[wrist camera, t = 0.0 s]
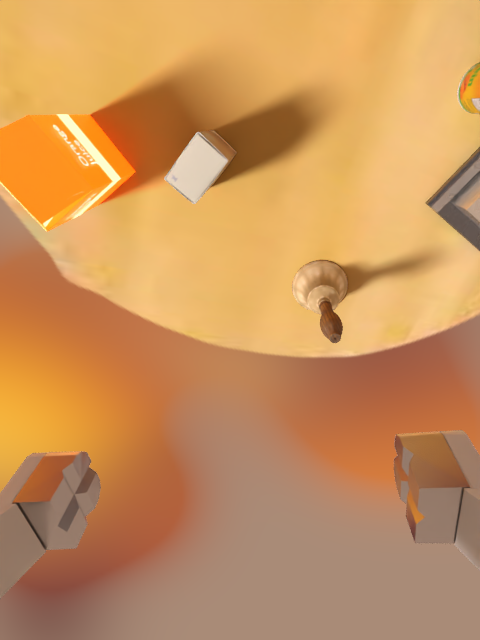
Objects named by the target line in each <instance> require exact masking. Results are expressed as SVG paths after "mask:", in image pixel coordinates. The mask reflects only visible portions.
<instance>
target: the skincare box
mask: <svg viewBox="0 0 480 640" xmlns="http://www.w3.org/2000/svg"><path fill="white" fill-rule="evenodd" d="M236 154H237V152H236V151H235V150H234V149H233V148H232V147H231V146H230V145H229V144H228V143H227V142H226V141H225V140H224V139H223V138H222V137H221V136H219V135H218V134H217V133H216V132H215V131H214V130H211V131H202V132H197V133H196V134H195V135H194V137H193V138H192V139H191V141H190V142H189V144H188V145H187V146H186V148H185V149H184V151H183V152H182V153H181V155H180V156H179V158H178V159H177V161H176V162H175V164H174V165H173V166H172V168H171V169H170V171H169V172H168V174H167V175H166V176H165V178H164V179H165V180H166V181H167V182H168V183H169V184H170V185H171V186H173V187H174V188H175V189H176V190H177V191H178V192H179V193H181V194H182V195H183V196H184V197H185V198H187V199H188V200H189V201H191V202H192V203H193V204H195V203H197V201H198V200H199V199H200V198H201V197H202V196H203V195H204V194H205V192H206V191H207V190H208V189H209V188H210V187H211V186H212V185H213V184H214V182H215V181H216V180H217V179H218V178H219V176H220V175H221V174H222V173H223V171H224V170H225V169H226V167H227V166H228V165H229V163H230V162H231V160H232V159H233V158H234V156H235V155H236Z"/></svg>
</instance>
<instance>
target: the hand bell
mask: <svg viewBox="0 0 480 640" xmlns="http://www.w3.org/2000/svg"><path fill="white" fill-rule="evenodd" d="M347 288H348V281H347V277H346V274H345V272H344V271H343V270H342V269H341V268H340V267H339V266H338V265H337V264H335V263H333V262H330V261H326V260H317V261H313V262H310V263H308V264H306V265H304V266H303V267H302V268H301V269H300V270H299V271H298V272H297V273H296V275H295V277H294V279H293V283H292V291H293V295H294V297H295V299H296V301H297V302H298V303H299V304H300V305H301V306H303V307H304V308H306V309H309V310H312V311H313V312H315V313H318V314H322V316H321V319H320V326H321V330H322V332H323V334H324V335H325V336H326V337H327V338H328V339H329V340H330V341H331V342H332V343H337V342H339V341H340V339H341V334H342V330H343V326H342V322H341V320H340V318H339V316H338V315H337V314H336V313H334V312H333V310H334V309H335V308H336V307H337V306H338V304H339V303H340V302H341V301H342V299H343V298H344V296H345V294H346V292H347Z"/></svg>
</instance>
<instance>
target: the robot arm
mask: <svg viewBox="0 0 480 640" xmlns="http://www.w3.org/2000/svg"><path fill="white" fill-rule="evenodd" d="M395 449H396V452H397V455H398V456H397V457H396V458H395V459H394V474H395V481H396V485H397V490H398V493H399V496H400V499H401V500H402V501H403V502H405V503H406V518H407V521H408V523H409V527H410V529H411V533H412V536H413V539H414V541H415V543H455V546H456V547H457V548H458V549H459V550H460V551H461V552H462V553H463V554H464V555H465V556H466V557H467V558H468V559H469V560H470V561H471V562H472V563H473V564H474V565H475V566H476V567H477V569H478V570H479V571H480V456H479V454H478V452H477V451H476V449H475V447H474V446H473V444H472V442H471V441H470V439H469V438H468V436H467V434H466V433H465V432H464V431H462V430H455V431H440V432H425V433H409V434H396V437H395ZM90 463H91V460H90V458H89V456H88V454H87V452H82V451H81V452H49V453H32V454H31V455H29V456H28V457H26V459H25V460H24V462H23V463H22V465H21V466H20V467H19V469H18V470H17V471H16V473H15V474H14V475H13V477H12V478H11V479H10V481H9V482H8V484H7V485H6V486H5V488H4V489H3V490H2V492H1V493H0V598H1V597H2V596H3V595H4V594H5V593H6V592H7V591H8V590H9V589H10V588H11V587H12V586H13V585H14V584H15V583H16V582H17V581H18V580H19V579H20V578H21V577H22V576H23V575H24V574H25V573H26V572H27V571H28V570H29V569H30V567H32V566H33V564H34V563H35V562H36V561H37V560H38V559H39V558H40V557H41V556H42V555H43V554H44V553H45V552H46V550H50V549H51V550H52V549H70V548H71V549H72V548H77V545H78V543H79V541H80V539H81V537H82V535H83V533H84V530H85V528H86V526H87V520H86V516H87V515H88V514H89V513H90V512H91V511H92V510H93V509H95V506H96V504H97V502H98V499H99V494H100V488H101V487H100V480H99V477H98V475H97V473H96V472H95V471H93V470H92V469H91V468H89V465H90Z"/></svg>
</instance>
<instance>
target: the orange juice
mask: <svg viewBox="0 0 480 640" xmlns="http://www.w3.org/2000/svg"><path fill="white" fill-rule="evenodd" d="M135 172H136V171H135V170H134V169H133V168H132V166H131V165H130V164H129V163H128V162H127V160H126V159H125V158H124V157H123V155H122V154H121V153H120V152H119V150H118V149H117V148H116V147H115V145H114V144H113V143H112V142H111V141H110V139H109V138H108V137H107V136H106V134H105V133H104V132H103V131H102V129H101V128H100V127H99V126H98V124H97V123H96V122H95V121H94V119H93V118H92V117H91V116H90V115H68V114H60V115H27V116H26V117H24V118H22V119H20V120H18V121H16V122H14V123H12V124H10V125H8V126H6V127H4V128H1V129H0V183H1V185H2V186H3V187H4V188H5V189H6V190H7V191H8V192H9V193H10V194H11V195H12V196H13V197H14V198H15V199H16V200H17V201H18V202H19V203H20V204H21V205H22V206H23V208H24V209H25V210H26V211H27V212H28V213H29V214H30V215H31V216H32V217H33V218H34V219H35V220H36V221H37V222H38V223H39V224H40V225H41V226H42V227H43V228H44V230H45V231H46V232H48V231H50V230H52V229H54V228H55V227H57V226H59V225H61V224H63V223H65V222H67V221H69V220H71V219H74V218H75V217H77V216H79V215H81V214H82V213H84V212H86V211H88V210H90V209H92V208H94V207H96V206H97V205H99V204H100V203H101V202H103V201H104V200H105V199H106V198H107V197H108V196H109V195H110V194H112V193H113V192H114V191H115V190H116V189H117V188H118V187H119V186H120V185H122V184H123V183H124V182H125V181H126V180H127V179H128V178H129V177H130V176H132V175H133V174H134V173H135Z"/></svg>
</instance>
